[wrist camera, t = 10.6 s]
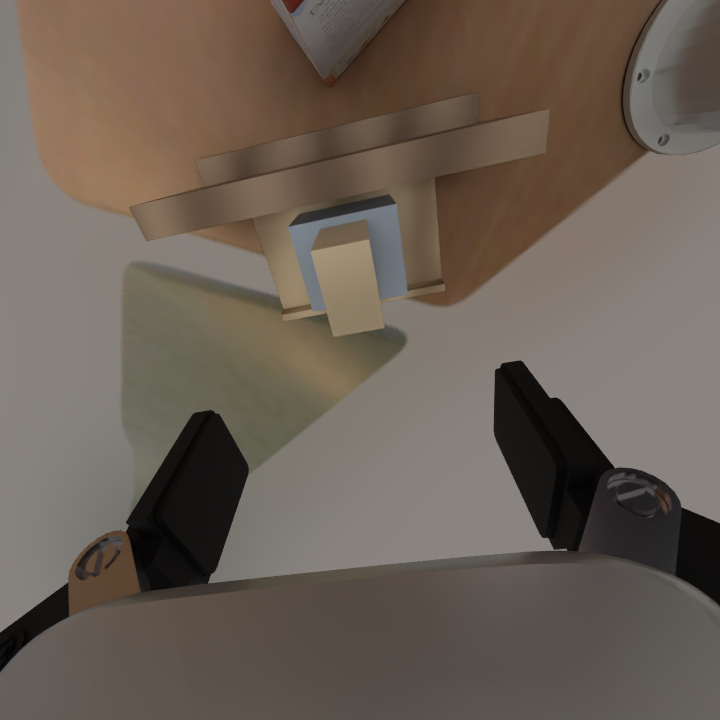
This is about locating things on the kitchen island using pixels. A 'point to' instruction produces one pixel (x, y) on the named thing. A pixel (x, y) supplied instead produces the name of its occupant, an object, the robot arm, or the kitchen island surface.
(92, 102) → the kitchen island surface
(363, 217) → the stacked toy blocks
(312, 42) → the cracker box
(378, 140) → the wooden toy bench
